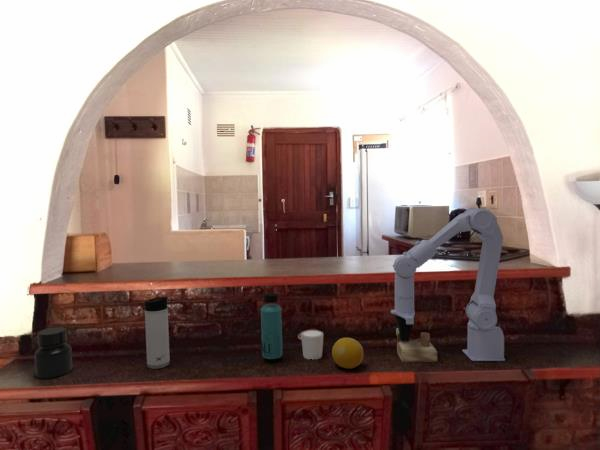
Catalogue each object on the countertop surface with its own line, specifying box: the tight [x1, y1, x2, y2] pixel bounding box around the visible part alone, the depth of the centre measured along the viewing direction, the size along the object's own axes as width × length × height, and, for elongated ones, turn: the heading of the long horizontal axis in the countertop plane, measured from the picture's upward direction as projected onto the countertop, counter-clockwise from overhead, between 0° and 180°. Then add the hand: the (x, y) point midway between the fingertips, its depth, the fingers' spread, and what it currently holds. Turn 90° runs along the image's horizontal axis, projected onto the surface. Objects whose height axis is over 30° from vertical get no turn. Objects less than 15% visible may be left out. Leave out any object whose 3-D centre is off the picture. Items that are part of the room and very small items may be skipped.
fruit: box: [331, 337, 365, 370], centre depth 112 cm, size 9×8×8 cm
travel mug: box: [144, 296, 171, 370], centre depth 116 cm, size 6×7×20 cm
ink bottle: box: [34, 326, 73, 379], centre depth 112 cm, size 10×9×12 cm
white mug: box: [300, 329, 325, 361], centre depth 121 cm, size 7×7×7 cm
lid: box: [398, 331, 437, 352], centre depth 118 cm, size 9×6×4 cm
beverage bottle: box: [260, 292, 284, 360], centre depth 118 cm, size 6×7×20 cm
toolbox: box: [396, 333, 438, 363], centre depth 119 cm, size 10×8×6 cm
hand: (404, 340), depth 121 cm, fingers closed
